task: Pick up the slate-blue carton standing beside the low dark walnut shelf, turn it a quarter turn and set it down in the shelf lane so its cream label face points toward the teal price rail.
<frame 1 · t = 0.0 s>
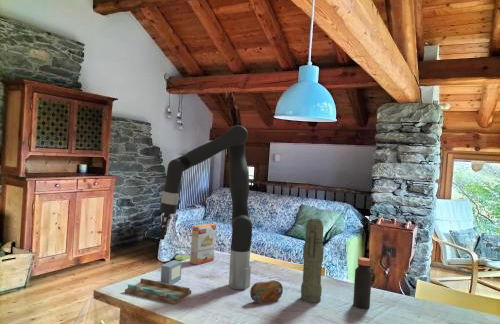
hand: (162, 237, 164), 22 cm above the table, tool pointing down, fingers open, 8 cm apart
carton: (170, 282, 170), on the table
bottle: (361, 306, 154), on the table
tin: (265, 301, 154), on the table
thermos: (310, 299, 158), on the table
cracker box: (202, 262, 204), on the table
shelf: (158, 293, 156), on the table
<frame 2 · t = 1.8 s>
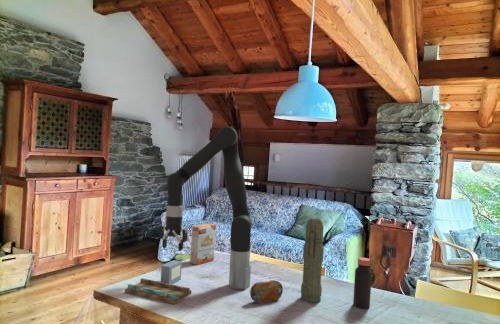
hand: (172, 249, 170), 16 cm above the table, tool pointing down, fingers open, 8 cm apart
nothing on the table moved.
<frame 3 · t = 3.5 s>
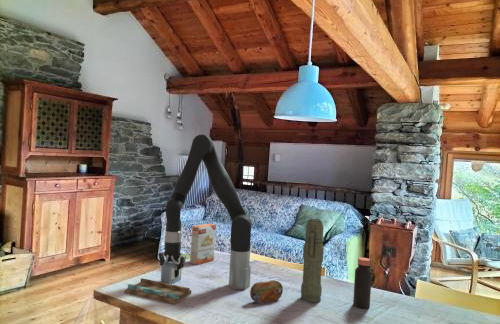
hand: (171, 275, 170), 3 cm above the table, tool pointing down, fingers closed on carton, 5 cm apart
carton: (171, 282, 170), on the table, touching gripper
everything else where it was.
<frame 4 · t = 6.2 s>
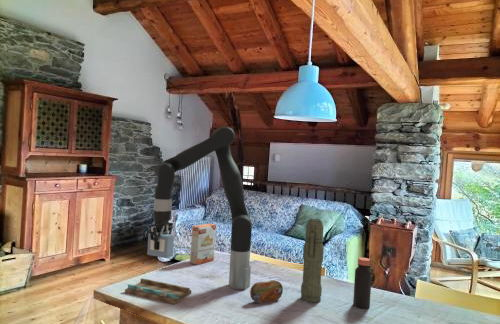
hand: (160, 248, 156), 20 cm above the table, tool pointing down, fingers closed on carton, 5 cm apart
carton: (160, 255, 156), point 17 cm above the table, touching gripper
everything else where it was.
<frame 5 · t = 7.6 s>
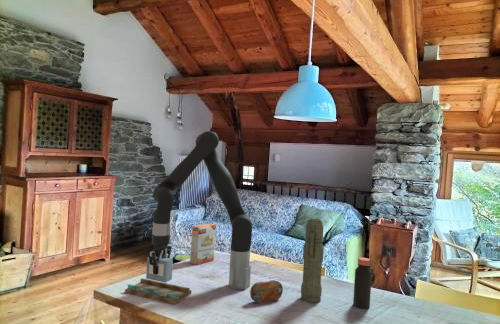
hand: (159, 272, 156), 9 cm above the table, tool pointing down, fingers closed on carton, 5 cm apart
carton: (159, 279, 156), point 6 cm above the table, touching gripper
everything else where it was.
when the fingers open (5 cm above the table, at t = 8.8 s): carton stays where it is, resting on shelf.
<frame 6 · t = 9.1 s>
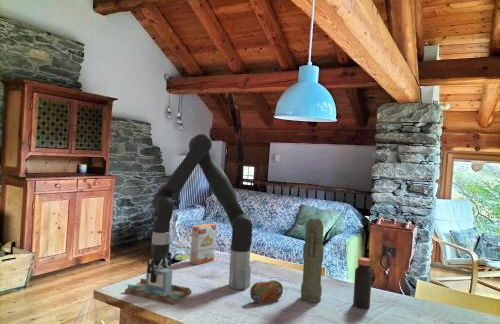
hand: (159, 279, 156), 6 cm above the table, tool pointing down, fingers open, 7 cm apart
carton: (158, 289, 156), point 1 cm above the table, touching shelf
everything else where it was.
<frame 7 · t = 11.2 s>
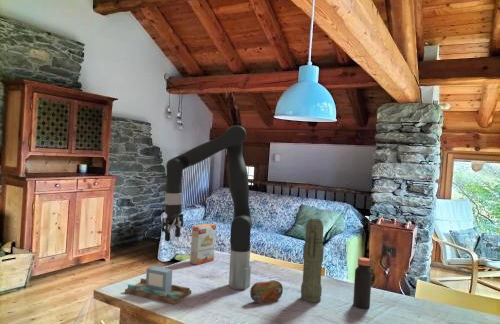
hand: (172, 238, 162), 22 cm above the table, tool pointing down, fingers open, 8 cm apart
nothing on the table moved.
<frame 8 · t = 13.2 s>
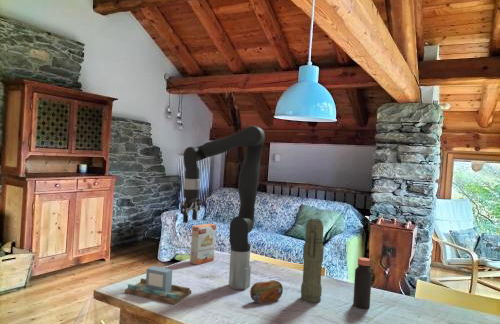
hand: (189, 221, 175), 28 cm above the table, tool pointing down, fingers open, 8 cm apart
nothing on the table moved.
at the end: carton inside the target area on the shelf (0.0 cm from its centre), point 1.5 cm above the shelf's base; carton tilted 0°; the gripper is holding nothing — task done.
